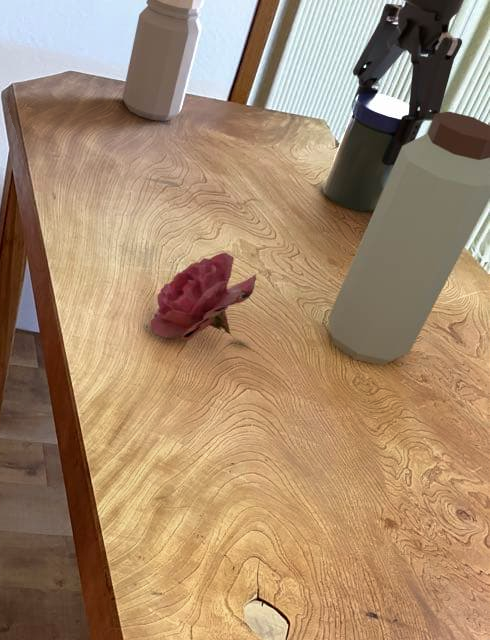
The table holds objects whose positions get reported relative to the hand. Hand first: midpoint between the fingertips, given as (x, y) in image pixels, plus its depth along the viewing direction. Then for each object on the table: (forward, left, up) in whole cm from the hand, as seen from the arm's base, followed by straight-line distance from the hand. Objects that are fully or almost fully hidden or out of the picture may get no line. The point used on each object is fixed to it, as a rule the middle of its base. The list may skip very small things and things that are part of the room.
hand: (371, 148), depth 130 cm
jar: (+30, +20, -8) cm, 37 cm away
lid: (0, 0, +6) cm, 6 cm away
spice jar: (0, 0, -7) cm, 7 cm away
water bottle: (-36, +24, -8) cm, 44 cm away
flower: (-31, +45, -8) cm, 55 cm away
